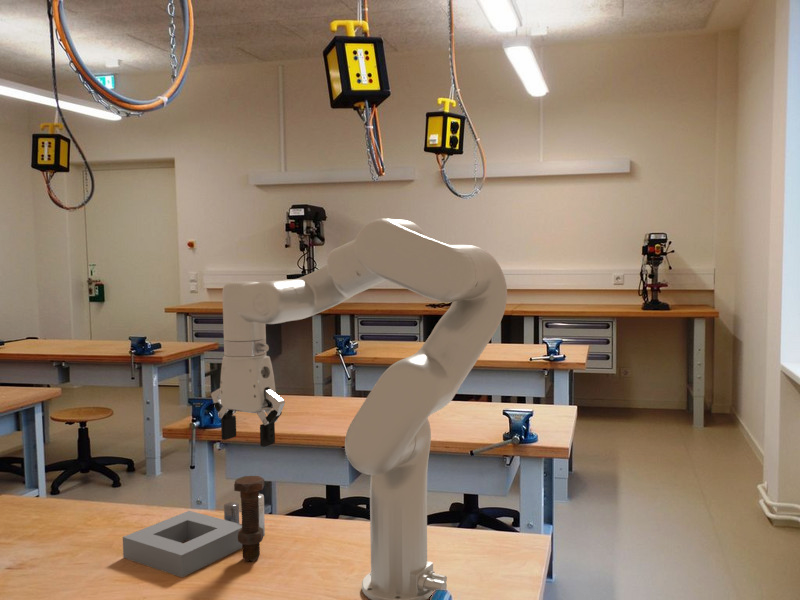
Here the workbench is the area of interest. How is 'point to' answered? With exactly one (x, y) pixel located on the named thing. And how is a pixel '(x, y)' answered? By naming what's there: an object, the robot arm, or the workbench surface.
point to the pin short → (231, 512)
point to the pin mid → (261, 513)
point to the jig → (171, 555)
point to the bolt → (250, 515)
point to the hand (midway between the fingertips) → (248, 441)
